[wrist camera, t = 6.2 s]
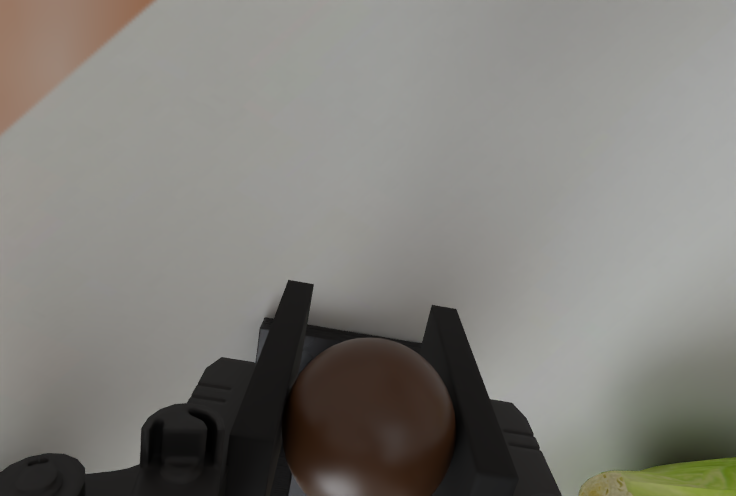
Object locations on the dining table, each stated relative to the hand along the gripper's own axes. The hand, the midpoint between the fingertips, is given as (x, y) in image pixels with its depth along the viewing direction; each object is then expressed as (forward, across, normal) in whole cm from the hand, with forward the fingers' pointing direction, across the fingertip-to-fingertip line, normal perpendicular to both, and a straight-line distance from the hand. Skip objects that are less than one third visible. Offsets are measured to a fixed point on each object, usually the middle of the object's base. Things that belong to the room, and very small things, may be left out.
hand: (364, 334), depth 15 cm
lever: (0, 0, -5) cm, 5 cm away
